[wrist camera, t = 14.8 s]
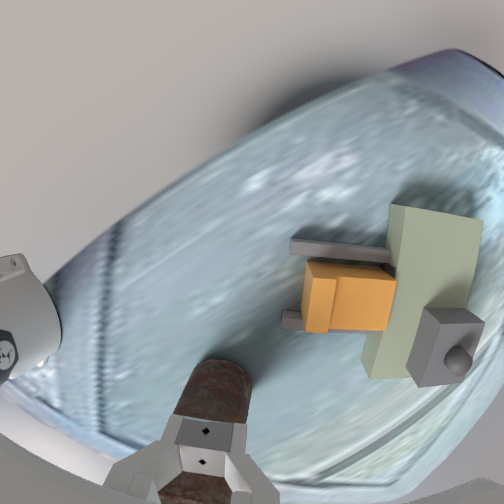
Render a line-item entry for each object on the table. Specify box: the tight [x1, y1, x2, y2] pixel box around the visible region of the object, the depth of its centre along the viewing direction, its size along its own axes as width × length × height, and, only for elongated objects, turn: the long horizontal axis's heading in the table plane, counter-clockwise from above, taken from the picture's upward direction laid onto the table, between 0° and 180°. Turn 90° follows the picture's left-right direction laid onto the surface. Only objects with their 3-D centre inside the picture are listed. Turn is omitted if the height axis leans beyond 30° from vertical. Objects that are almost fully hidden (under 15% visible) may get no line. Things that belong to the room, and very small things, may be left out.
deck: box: [282, 204, 485, 388], centre depth 24 cm, size 20×18×10 cm
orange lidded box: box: [301, 261, 397, 333], centre depth 27 cm, size 8×5×6 cm, turn 86°
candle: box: [157, 359, 252, 504], centre depth 23 cm, size 8×7×20 cm
